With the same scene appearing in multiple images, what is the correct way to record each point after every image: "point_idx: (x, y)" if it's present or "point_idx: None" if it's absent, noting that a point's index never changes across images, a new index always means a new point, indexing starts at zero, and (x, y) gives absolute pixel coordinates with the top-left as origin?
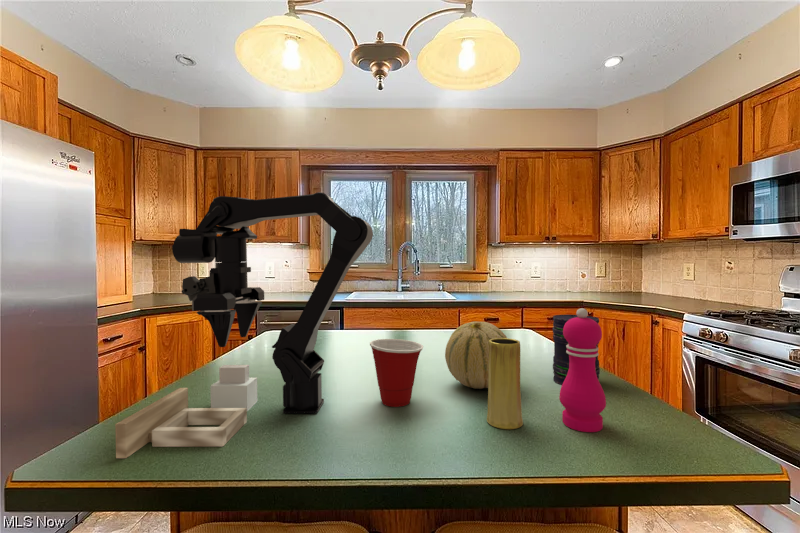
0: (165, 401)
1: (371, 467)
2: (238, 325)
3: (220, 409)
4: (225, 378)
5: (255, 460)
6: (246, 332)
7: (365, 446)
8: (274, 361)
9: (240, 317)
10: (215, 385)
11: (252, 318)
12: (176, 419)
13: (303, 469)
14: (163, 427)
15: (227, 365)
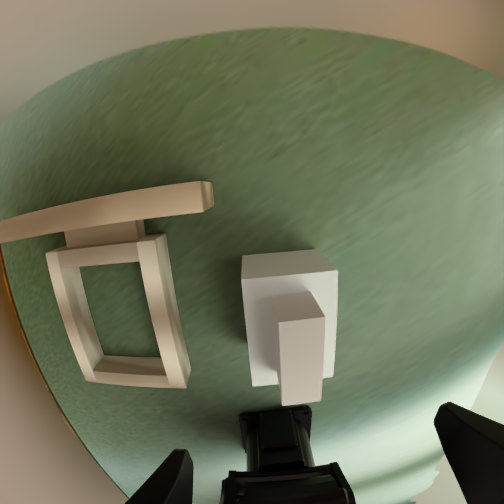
0: (85, 227)
1: (128, 483)
2: (479, 436)
3: (163, 339)
4: (275, 323)
5: (89, 410)
6: (440, 441)
7: None
8: (244, 493)
9: (501, 471)
10: (244, 296)
11: (470, 498)
12: (95, 264)
13: (98, 448)
14: (58, 267)
15: (316, 334)
